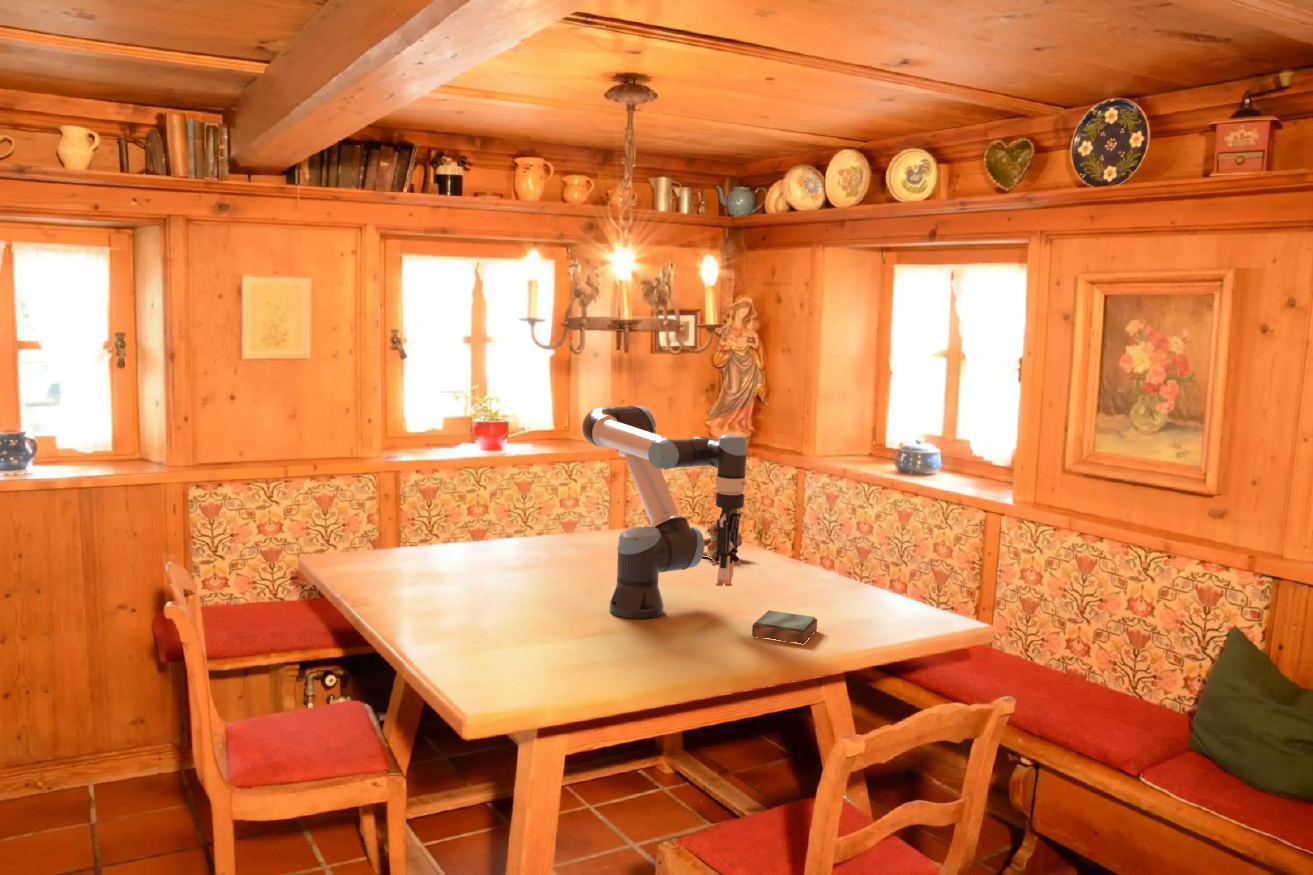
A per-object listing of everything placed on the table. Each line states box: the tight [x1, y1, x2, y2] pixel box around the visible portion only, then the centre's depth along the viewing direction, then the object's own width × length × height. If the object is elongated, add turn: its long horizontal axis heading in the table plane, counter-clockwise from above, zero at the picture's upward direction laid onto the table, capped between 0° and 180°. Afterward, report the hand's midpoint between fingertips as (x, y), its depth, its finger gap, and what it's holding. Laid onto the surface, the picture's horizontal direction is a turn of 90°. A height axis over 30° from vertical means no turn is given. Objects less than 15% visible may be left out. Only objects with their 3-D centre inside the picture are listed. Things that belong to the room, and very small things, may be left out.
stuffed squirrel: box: [703, 521, 744, 562], centre depth 362 cm, size 10×14×13 cm
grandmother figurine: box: [711, 541, 742, 587], centre depth 283 cm, size 8×4×13 cm, turn 102°
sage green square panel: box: [751, 609, 818, 644], centre depth 279 cm, size 14×14×4 cm
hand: (725, 577), depth 284 cm, fingers closed on grandmother figurine, 3 cm apart
